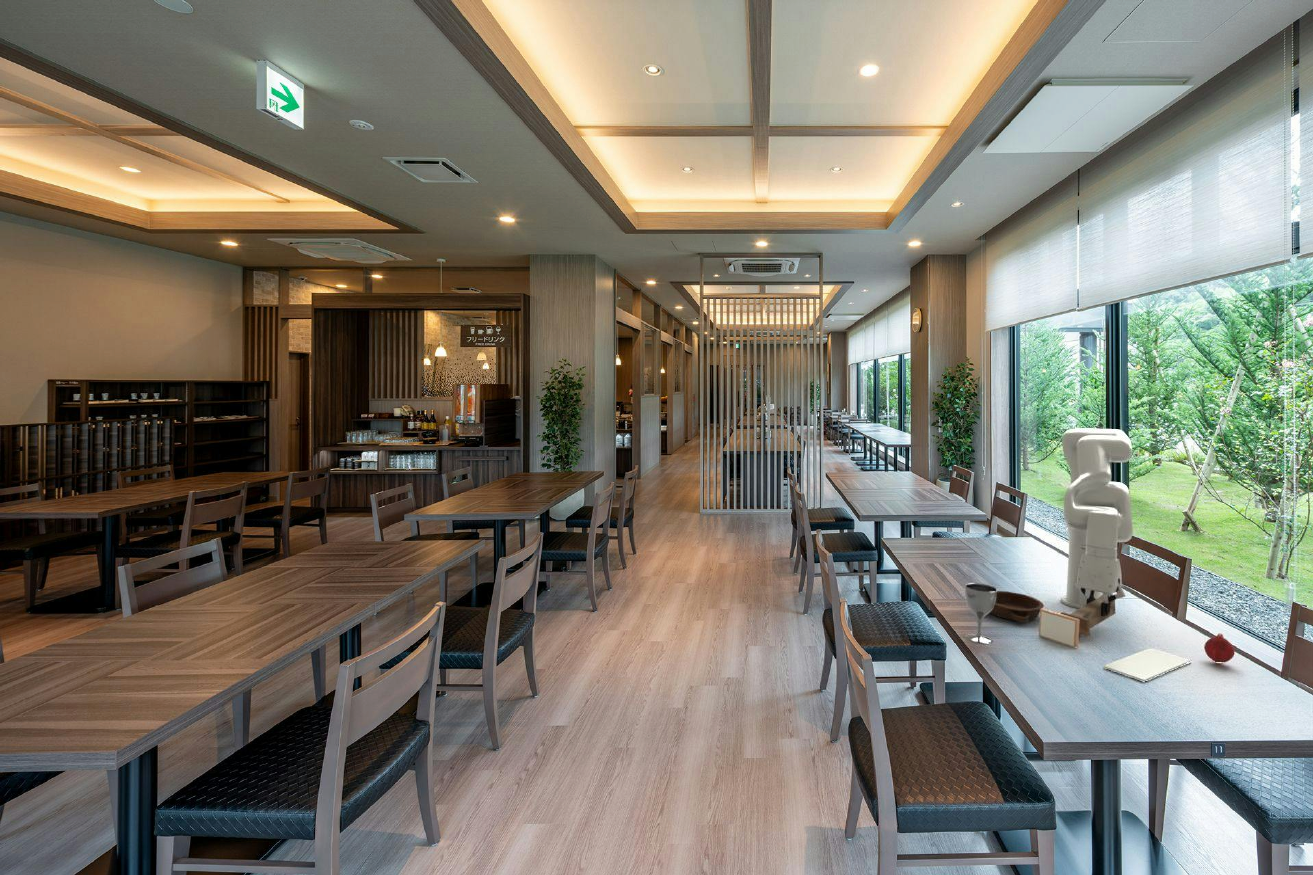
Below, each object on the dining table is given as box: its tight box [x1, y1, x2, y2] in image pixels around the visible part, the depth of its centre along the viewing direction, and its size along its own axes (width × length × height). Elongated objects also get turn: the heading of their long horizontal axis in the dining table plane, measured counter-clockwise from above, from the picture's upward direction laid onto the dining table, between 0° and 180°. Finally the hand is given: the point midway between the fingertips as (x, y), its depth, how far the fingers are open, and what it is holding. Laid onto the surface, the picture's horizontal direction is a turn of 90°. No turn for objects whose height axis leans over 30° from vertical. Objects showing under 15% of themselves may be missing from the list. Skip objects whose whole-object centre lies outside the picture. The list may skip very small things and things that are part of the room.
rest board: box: [1102, 647, 1192, 681], centre depth 162 cm, size 24×9×1 cm, turn 119°
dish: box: [989, 590, 1045, 623], centre depth 200 cm, size 18×22×5 cm
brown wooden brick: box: [1060, 595, 1116, 638], centre depth 185 cm, size 19×7×5 cm, turn 118°
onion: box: [1203, 632, 1235, 663], centre depth 163 cm, size 6×6×8 cm
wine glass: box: [964, 582, 998, 645], centre depth 178 cm, size 8×8×15 cm
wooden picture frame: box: [1038, 607, 1080, 648], centre depth 177 cm, size 1×10×8 cm, turn 29°
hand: (1097, 613), depth 186 cm, fingers closed on brown wooden brick, 3 cm apart
